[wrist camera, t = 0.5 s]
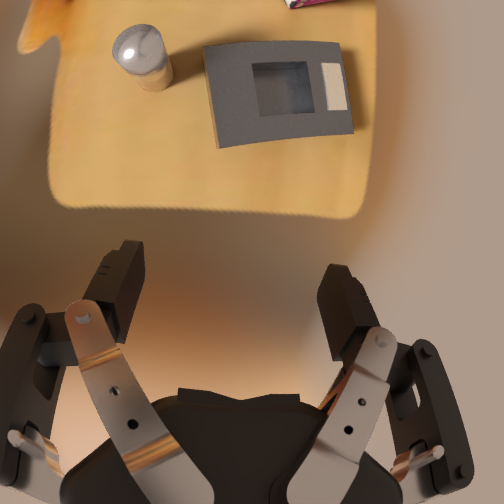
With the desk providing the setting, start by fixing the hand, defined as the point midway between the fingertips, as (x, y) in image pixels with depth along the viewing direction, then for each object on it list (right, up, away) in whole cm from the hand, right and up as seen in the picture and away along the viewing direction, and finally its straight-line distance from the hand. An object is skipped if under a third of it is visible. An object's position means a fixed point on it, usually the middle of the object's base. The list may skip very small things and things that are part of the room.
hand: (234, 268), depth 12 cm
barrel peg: (-11, +22, +16) cm, 30 cm away
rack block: (+3, +20, +20) cm, 29 cm away
